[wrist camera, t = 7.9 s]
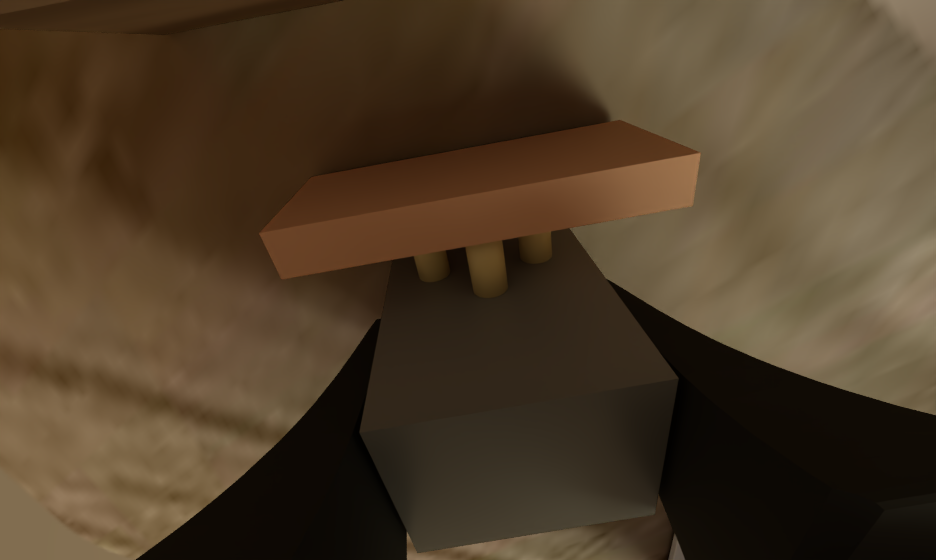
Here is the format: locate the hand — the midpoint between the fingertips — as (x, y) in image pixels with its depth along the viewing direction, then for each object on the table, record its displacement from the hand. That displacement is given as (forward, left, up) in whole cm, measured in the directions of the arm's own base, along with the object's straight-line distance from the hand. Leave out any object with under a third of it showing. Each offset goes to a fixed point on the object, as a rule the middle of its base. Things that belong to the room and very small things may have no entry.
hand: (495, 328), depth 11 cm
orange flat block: (+4, 0, -2) cm, 4 cm away
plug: (0, 0, -2) cm, 2 cm away
